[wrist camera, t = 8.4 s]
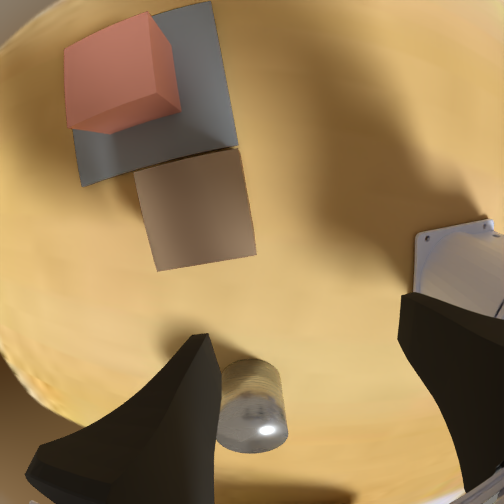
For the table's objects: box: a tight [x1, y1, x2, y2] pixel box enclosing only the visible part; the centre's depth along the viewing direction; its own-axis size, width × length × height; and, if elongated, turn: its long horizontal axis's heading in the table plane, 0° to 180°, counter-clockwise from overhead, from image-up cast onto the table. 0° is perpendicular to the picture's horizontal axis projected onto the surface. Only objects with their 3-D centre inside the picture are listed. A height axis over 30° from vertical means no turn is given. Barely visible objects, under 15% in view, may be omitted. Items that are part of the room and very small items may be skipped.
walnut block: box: [133, 148, 257, 272], centre depth 15 cm, size 5×5×5 cm
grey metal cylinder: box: [216, 359, 288, 453], centre depth 19 cm, size 5×5×6 cm
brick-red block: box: [64, 11, 182, 134], centre depth 12 cm, size 5×5×5 cm
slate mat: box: [73, 1, 238, 187], centre depth 15 cm, size 11×11×1 cm
